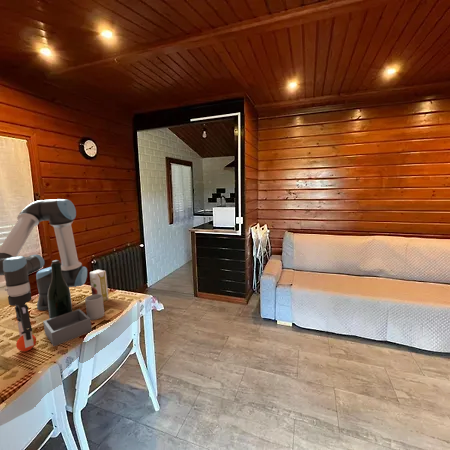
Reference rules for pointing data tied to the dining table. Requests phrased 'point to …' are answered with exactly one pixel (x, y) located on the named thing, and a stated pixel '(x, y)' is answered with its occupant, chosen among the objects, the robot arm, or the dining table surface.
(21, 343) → the tomato
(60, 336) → the bin
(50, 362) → the dining table surface
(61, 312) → the wine bottle
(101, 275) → the juice carton
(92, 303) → the mug
